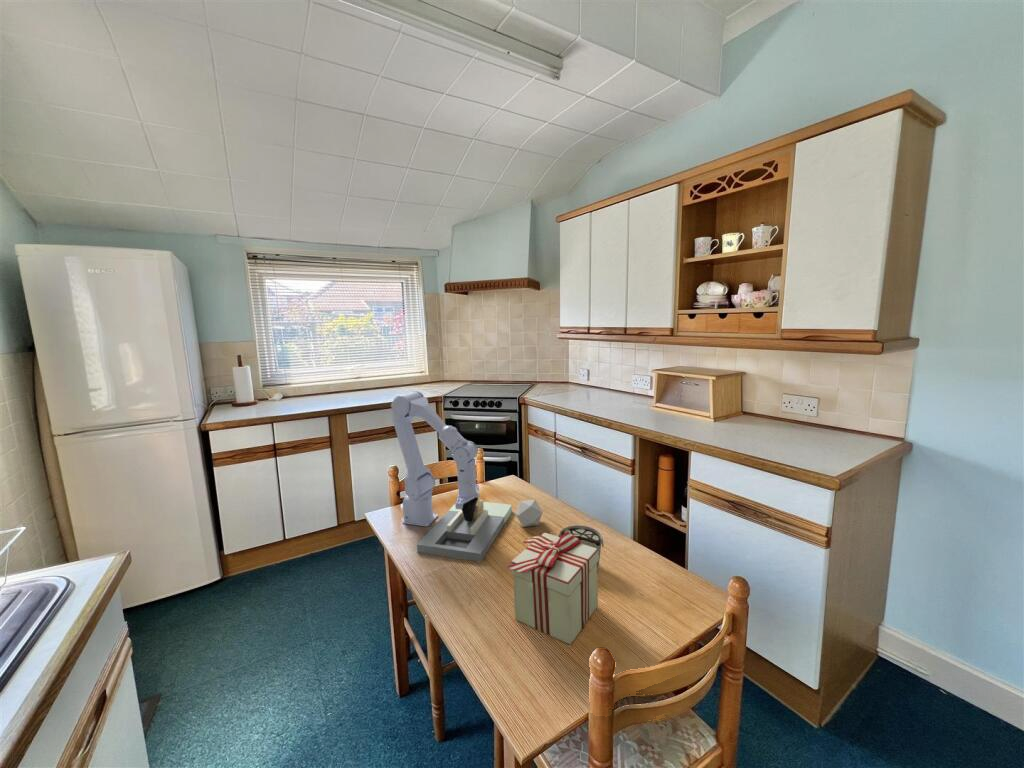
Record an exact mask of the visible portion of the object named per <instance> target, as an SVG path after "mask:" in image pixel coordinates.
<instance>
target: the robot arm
mask: <svg viewBox="0 0 1024 768" xmlns="http://www.w3.org/2000/svg"><path fill="white" fill-rule="evenodd" d="M390 408H391V410H392V423H393V427H394V429H395V433H396V436H397V439H398V443H399V447H400V450H401V453H402V456H403V459H404V464H405V466H406V470H407V471H406V474H405V477H404V479H403V481H404V493H405V494H406V495H405V496H404V497H403V501H402V512H403V513H402V515H403V521H402V524H406V525H413V526H420V527H429V526H430V525H431V524H432V523H433V522H434V521H435V520H436V519H437V518H438V517H439V514H438V513H434V507H433V506H434V505H433V494H432V493H433V490H434V488H435V487H436V479H435V477H434V475H433V474H432V472H431V469H430V467H428V466H426V465H424V462H423V459H422V456H421V451H420V448H419V444H418V441H417V439H416V435H415V430H414V427H413V425H412V420H413V418H414V417H418V418H419V417H420V418H422V419H423V421H424V422H426V423H427V424H429V426H431V428H433V429H434V431H436V432H437V433H438V439H439V440H440V441H441V442H442V443H443V444H444V445H445V447H447V449H449V451H450V452H451V453H452V459H453V461H454V462H455V463H456V465H455V466H456V471H457V488H458V489H457V491H458V494H457V498H456V502H455V503H454V504H455V505H456V509H461V510H462V512H463V515H464V518H465V521H472V520H473V515H474V510H475V506H476V503H477V501H478V499H479V497H481V493H479V491H480V485H479V484H477V477H476V476H477V475H476V473H477V472H476V471H477V470H476V457H477V456H478V453H479V450H478V447H477V445H476V443H475V442H473V441H471V440H468V439H466V438H464V436H462V435H461V433H460V432H459V431H458V429H457V428H456V426H453V425H449V424H448V425H447V424H445V422H444V420H442V418H441V417H440V415H439V414H438V413H437V412H436V411H435V410H434V409H433V407H432V406H431V405H430V403H429V399H428V398H427V397H426V396H424V394H423V393H422V392H421V391H419V390H414V391H411V392H409V393H405V394H402V395H398V396H395V397H394V399H393V401H392V403H391V404H390Z"/></svg>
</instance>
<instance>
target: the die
mask: <svg viewBox="0 0 1024 768" xmlns="http://www.w3.org/2000/svg"><path fill="white" fill-rule="evenodd" d="M542 515H543V510H542V509H541V507H540V505H539V503H538V502H537V499H528V500H526V499H525V500H520V501H519V503H518V506H517V508H516V511H515V516H516V517H517V520H518V521H519V523H520V524H521V527H522V528H525V527H531V526H532V527H533V526H538V525H539V524H540V521H541V518H542Z"/></svg>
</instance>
